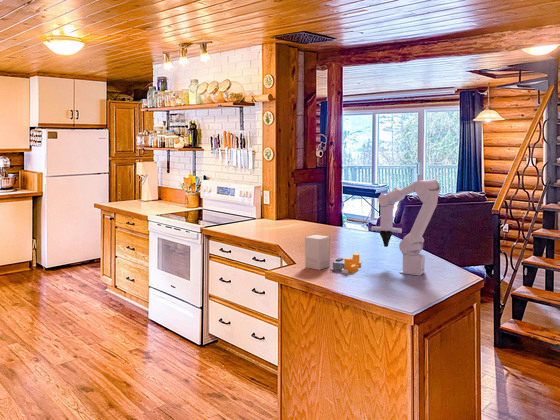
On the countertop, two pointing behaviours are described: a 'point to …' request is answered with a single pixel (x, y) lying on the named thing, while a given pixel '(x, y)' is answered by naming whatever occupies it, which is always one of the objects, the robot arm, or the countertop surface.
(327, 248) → the supplement box
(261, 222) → the countertop surface
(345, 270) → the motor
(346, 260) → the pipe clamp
